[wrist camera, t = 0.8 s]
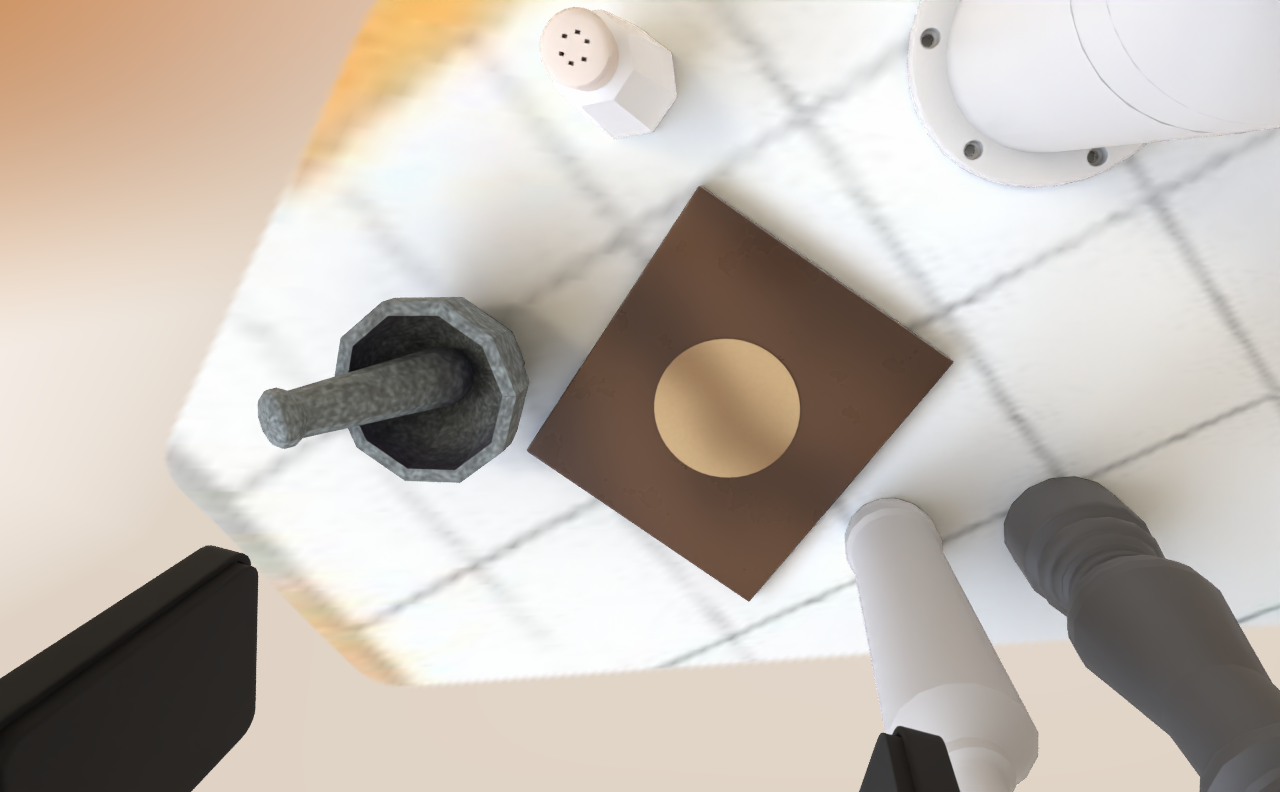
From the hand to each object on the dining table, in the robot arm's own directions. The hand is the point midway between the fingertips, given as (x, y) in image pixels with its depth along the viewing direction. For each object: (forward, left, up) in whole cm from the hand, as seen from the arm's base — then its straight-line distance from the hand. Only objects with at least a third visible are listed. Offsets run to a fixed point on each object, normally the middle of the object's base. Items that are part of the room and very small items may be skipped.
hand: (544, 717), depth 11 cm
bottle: (+4, +16, -32) cm, 36 cm away
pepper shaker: (-8, -10, -32) cm, 34 cm away
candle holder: (-2, +23, -32) cm, 39 cm away
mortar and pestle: (+10, -11, -32) cm, 35 cm away
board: (+3, +4, -32) cm, 32 cm away
